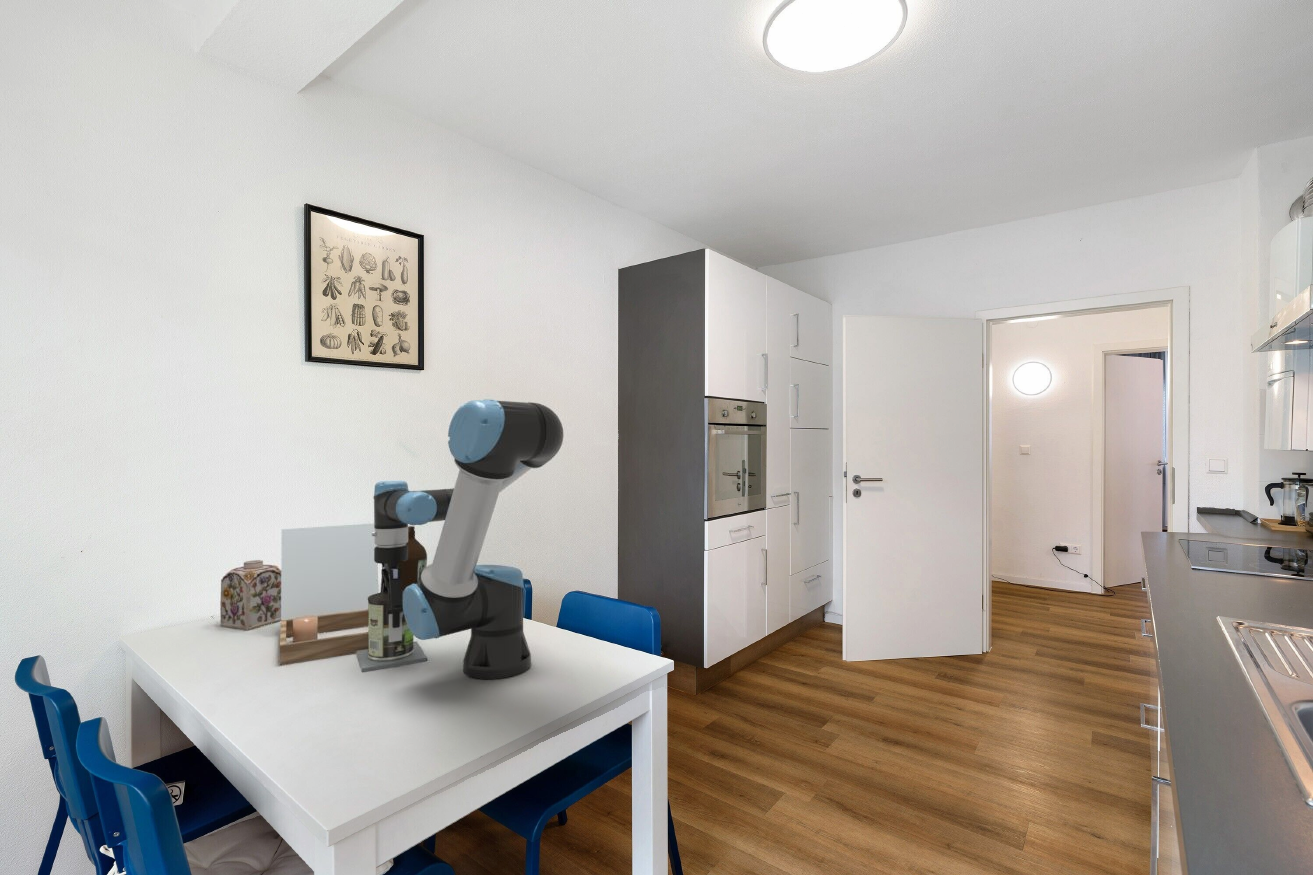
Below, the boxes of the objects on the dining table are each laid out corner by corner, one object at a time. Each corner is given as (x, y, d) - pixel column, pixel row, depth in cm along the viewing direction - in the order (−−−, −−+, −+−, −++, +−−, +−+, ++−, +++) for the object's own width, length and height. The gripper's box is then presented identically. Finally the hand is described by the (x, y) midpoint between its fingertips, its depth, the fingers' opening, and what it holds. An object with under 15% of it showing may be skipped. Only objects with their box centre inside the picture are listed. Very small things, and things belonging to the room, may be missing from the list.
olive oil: (386, 609, 191) (386, 529, 192) (398, 600, 202) (398, 524, 202) (420, 608, 192) (420, 528, 192) (431, 600, 203) (431, 524, 203)
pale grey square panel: (376, 523, 182) (375, 524, 183) (281, 529, 169) (281, 530, 171) (379, 607, 176) (378, 608, 177) (281, 620, 164) (281, 620, 165)
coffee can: (420, 646, 153) (421, 590, 153) (403, 661, 143) (403, 600, 143) (379, 646, 153) (380, 590, 153) (359, 661, 143) (359, 600, 143)
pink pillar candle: (317, 642, 159) (318, 619, 159) (292, 646, 157) (292, 622, 157) (317, 636, 164) (317, 614, 164) (292, 640, 161) (292, 617, 161)
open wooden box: (391, 647, 155) (391, 629, 155) (279, 665, 143) (279, 645, 143) (379, 623, 176) (379, 607, 176) (281, 637, 164) (281, 620, 164)
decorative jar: (246, 631, 169) (247, 566, 170) (218, 626, 174) (218, 563, 174) (286, 619, 181) (287, 558, 181) (259, 615, 185) (259, 556, 185)
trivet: (427, 660, 145) (427, 657, 145) (361, 672, 138) (361, 668, 138) (416, 644, 157) (416, 641, 157) (356, 654, 150) (356, 650, 150)
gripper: (368, 539, 157) (368, 622, 157) (380, 554, 136) (380, 650, 135) (400, 537, 161) (400, 618, 161) (416, 550, 139) (416, 644, 139)
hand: (391, 633), depth 148 cm, fingers open, 13 cm apart
